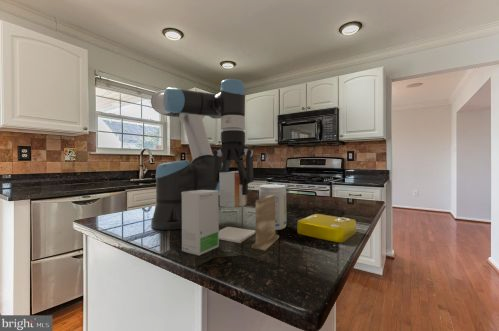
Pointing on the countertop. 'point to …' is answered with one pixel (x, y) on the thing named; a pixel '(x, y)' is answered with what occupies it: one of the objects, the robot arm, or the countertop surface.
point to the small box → (230, 189)
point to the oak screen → (265, 223)
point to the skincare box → (200, 221)
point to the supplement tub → (276, 202)
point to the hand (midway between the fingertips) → (233, 204)
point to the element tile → (327, 227)
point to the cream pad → (235, 234)
